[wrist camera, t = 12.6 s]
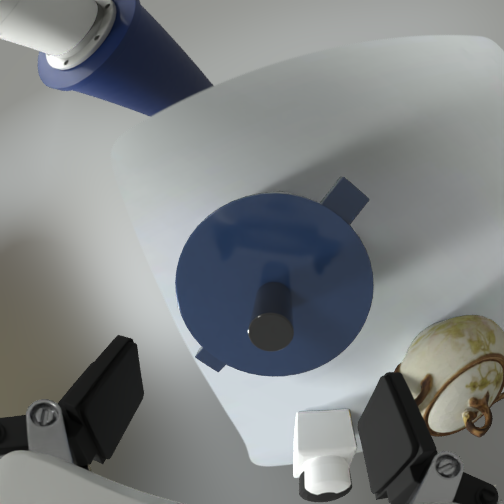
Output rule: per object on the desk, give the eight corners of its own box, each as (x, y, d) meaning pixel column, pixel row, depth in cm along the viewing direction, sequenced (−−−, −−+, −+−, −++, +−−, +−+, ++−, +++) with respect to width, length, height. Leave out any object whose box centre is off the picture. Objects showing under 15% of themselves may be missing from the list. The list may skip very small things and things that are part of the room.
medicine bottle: (341, 438, 34) (350, 503, 22) (293, 440, 34) (292, 508, 23) (349, 407, 32) (364, 479, 20) (296, 410, 32) (296, 486, 21)
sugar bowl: (347, 396, 31) (367, 494, 17) (381, 289, 27) (447, 381, 13) (463, 386, 30) (504, 454, 15) (502, 296, 26) (571, 352, 11)
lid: (150, 300, 21) (115, 337, 16) (254, 149, 17) (242, 139, 12) (286, 391, 22) (285, 441, 17) (404, 274, 19) (439, 308, 13)
